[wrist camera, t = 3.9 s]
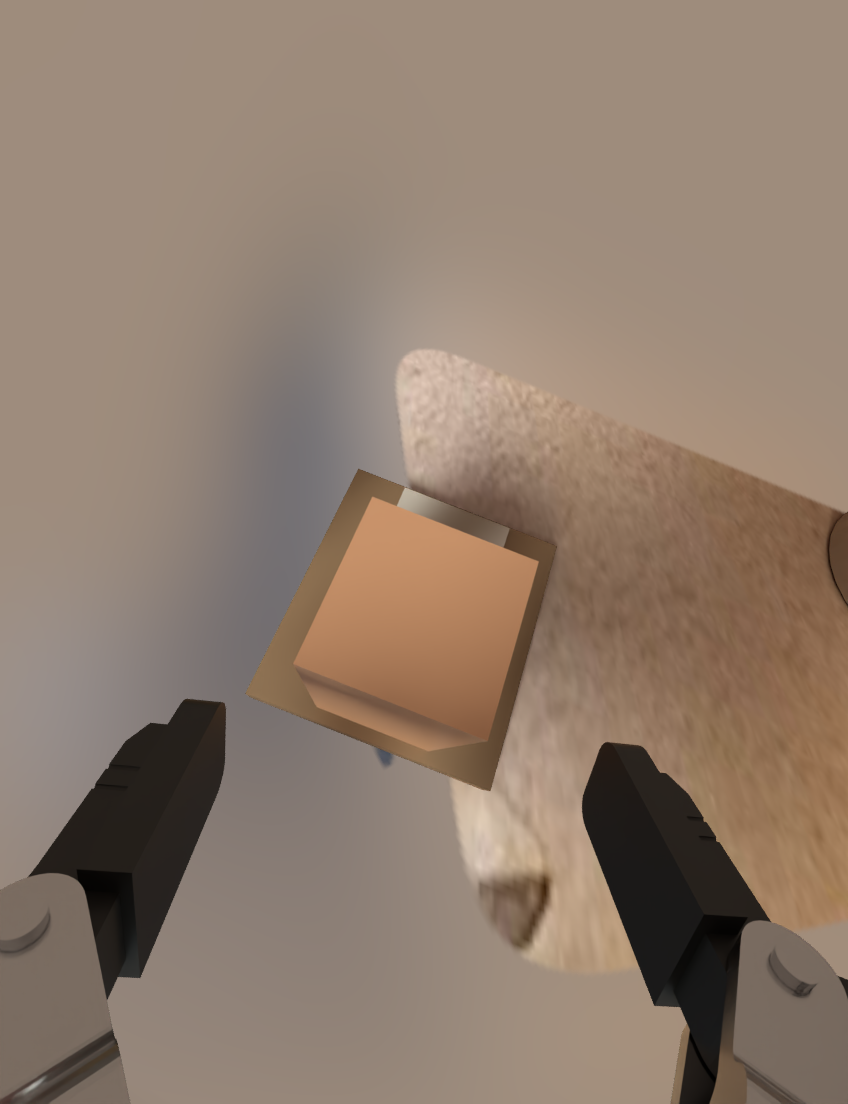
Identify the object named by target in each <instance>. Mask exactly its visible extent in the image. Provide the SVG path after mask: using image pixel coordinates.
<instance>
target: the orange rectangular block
mask: <svg viewBox="0 0 848 1104" xmlns="http://www.w3.org/2000/svg"><path fill="white" fill-rule="evenodd" d="M538 563H539V561H536V560H534V559H531V558H528V557H526V556H523V555H521V554H518V553H516V552H513V551H510V550H508V549H505V548H503V547H500V546H498V545H495V544H493V543H490V542H487V541H485V540H482V539H480V538H477V537H475V536H472V535H469V534H467V533H464V532H462V531H459V530H457V529H454V528H452V527H449V526H446V525H444V524H441V523H439V522H436V521H434V520H431V519H428V518H426V517H423V516H421V515H418V514H416V513H413V512H411V511H408V510H405V509H403V508H400V507H398V506H395V505H393V504H390V503H387V502H385V501H382V500H380V499H377V498H375V497H372V498H371V501H370V503H369V505H368V507H367V509H366V511H365V513H364V515H363V517H362V520H361V522H360V524H359V526H358V528H357V530H356V532H355V534H354V536H353V539H352V541H351V543H350V545H349V547H348V549H347V551H346V553H345V555H344V557H343V560H342V562H341V564H340V566H339V568H338V570H337V572H336V574H335V576H334V579H333V581H332V583H331V585H330V587H329V589H328V591H327V593H326V595H325V598H324V600H323V602H322V604H321V606H320V608H319V610H318V612H317V614H316V616H315V619H314V621H313V623H312V625H311V627H310V629H309V631H308V633H307V635H306V638H305V640H304V642H303V644H302V646H301V648H300V650H299V652H298V654H297V657H296V659H295V661H294V663H293V665H294V667H295V668H296V670H297V672H298V674H299V676H300V677H301V679H302V681H303V683H304V685H305V687H306V688H307V690H308V692H309V694H310V696H311V698H312V699H313V701H314V703H315V705H316V707H318V708H320V709H323V710H325V711H328V712H331V713H333V714H336V715H338V716H341V717H343V718H346V719H348V720H351V721H353V722H356V723H358V724H361V725H363V726H366V727H368V728H371V729H373V730H376V731H378V732H381V733H383V734H386V735H388V736H391V737H393V738H396V739H398V740H401V741H403V742H406V743H408V744H411V745H413V746H416V747H419V748H421V749H424V750H426V751H433V750H439V749H445V748H450V747H456V746H462V745H468V744H474V743H479V742H485V741H488V738H489V735H490V731H491V728H492V724H493V721H494V717H495V714H496V710H497V707H498V703H499V700H500V696H501V693H502V689H503V686H504V682H505V679H506V675H507V672H508V668H509V665H510V661H511V658H512V654H513V651H514V647H515V644H516V640H517V637H518V633H519V630H520V626H521V623H522V619H523V616H524V612H525V609H526V605H527V602H528V598H529V595H530V591H531V588H532V584H533V581H534V577H535V574H536V570H537V567H538Z"/></svg>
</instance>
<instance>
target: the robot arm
mask: <svg viewBox="0 0 848 1104" xmlns="http://www.w3.org/2000/svg"><path fill="white" fill-rule="evenodd" d="M829 553H830V563H831V568H832V571H833V574H834V577H835V581H836V583H837V585H838V587H839V589H840V591H841V593H842V595H843V597H844V599H845V601H846V602H847V604H848V512H847V513H845V514H844V515H843V516H842V517H841V518H840V519H839V520H838V522H837V523H836V525H835V527H834V529H833V531H832V534H831V538H830V546H829ZM225 726H226V708H225V704H224V703H223V702H213V701H203V700H194V699H185V700H184V701H183V702H182V703H181V704H180V706H179V708H178V709H177V710H176V712H175V714H174V715H173V717H172V718H171V720H170V722H169V723H168V725H167V724H156V723H150V724H148V725H147V726H146V727H144V728H143V729H142V730H140V731H139V732H138V733H136V734H135V735H133V736H132V737H131V738H130V739H128V740H127V741H125V743H124V744H123V746H122V747H121V749H120V750H119V751H118V753H117V754H116V755H115V757H114V758H113V760H112V761H111V762H110V764H109V768H108V769H106V770H105V771H104V772H103V774H102V775H101V777H100V778H99V779H98V781H97V782H96V784H95V788H94V789H91V791H90V792H89V793H88V795H87V796H86V798H85V799H84V801H83V802H82V803H81V805H80V806H79V807H78V809H77V810H76V812H75V813H74V815H73V816H72V817H71V819H70V820H69V822H68V823H67V824H66V826H65V827H64V829H63V830H62V831H61V833H60V834H59V836H58V837H57V838H56V840H55V841H54V843H53V844H52V845H51V847H50V848H49V850H48V851H47V853H46V854H45V855H44V857H43V858H42V860H41V861H40V862H39V864H38V865H37V866H36V868H35V869H34V870H33V872H32V873H31V874H30V875H29V876H28V877H27V878H25V879H22V880H19V881H17V882H15V883H13V884H11V885H9V886H7V887H5V888H3V889H2V890H0V1104H130V1099H129V1094H128V1089H127V1085H126V1080H125V1075H124V1070H123V1065H122V1060H121V1056H120V1051H119V1047H118V1043H117V1040H116V1039H115V1037H114V1033H113V1029H112V1024H111V1019H110V1014H109V1009H108V1004H107V999H108V997H109V995H110V993H111V991H112V988H113V986H114V984H115V982H116V980H117V977H132V978H140V977H141V975H142V972H143V970H144V967H145V965H146V963H147V960H148V958H149V956H150V953H151V951H152V948H153V946H154V944H155V941H156V939H157V936H158V934H159V932H160V929H161V927H162V924H163V922H164V920H165V917H166V915H167V913H168V910H169V908H170V906H171V903H172V901H173V898H174V896H175V893H176V891H177V889H178V886H179V884H180V881H181V879H182V877H183V874H184V872H185V870H186V867H187V865H188V863H189V860H190V858H191V855H192V853H193V851H194V848H195V846H196V844H197V841H198V839H199V836H200V834H201V831H202V829H203V827H204V824H205V822H206V820H207V817H208V815H209V813H210V810H211V808H212V805H213V803H214V801H215V798H216V796H217V793H218V791H219V787H220V784H221V780H222V776H223V771H224V765H225V729H226V727H225ZM582 813H583V820H584V824H585V827H586V830H587V832H588V835H589V838H590V840H591V843H592V845H593V848H594V851H595V853H596V856H597V858H598V861H599V864H600V866H601V869H602V871H603V874H604V877H605V879H606V882H607V884H608V887H609V889H610V892H611V895H612V897H613V900H614V902H615V905H616V908H617V910H618V913H619V915H620V918H621V921H622V923H623V926H624V928H625V931H626V934H627V936H628V939H629V941H630V944H631V947H632V949H633V952H634V954H635V957H636V960H637V962H638V965H639V967H640V970H641V973H642V975H643V978H644V980H645V983H646V986H647V988H648V991H649V993H650V996H651V999H652V1001H653V1004H654V1006H669V1007H680V1008H681V1010H682V1012H683V1015H684V1017H685V1020H686V1022H687V1025H686V1026H685V1028H684V1030H683V1032H682V1035H681V1040H680V1047H679V1053H678V1059H677V1065H676V1072H675V1078H674V1084H673V1091H672V1097H671V1104H848V980H847V979H844V978H842V977H839V976H837V975H836V973H835V972H834V970H833V969H832V967H831V966H830V965H829V964H828V962H827V961H826V960H825V959H824V958H823V957H822V956H821V955H820V954H819V953H818V951H816V950H815V949H814V948H813V947H812V946H811V945H810V944H809V943H807V942H806V941H805V940H804V939H802V938H801V937H800V936H798V935H797V934H795V933H794V932H792V931H790V930H788V929H787V928H785V927H783V926H780V925H778V924H775V923H772V922H771V921H770V919H769V918H768V917H767V915H766V913H765V912H764V910H763V909H762V907H761V906H760V904H759V903H758V901H757V900H756V898H755V896H754V895H753V893H752V892H751V890H750V889H749V887H748V886H747V884H746V883H745V881H744V879H743V878H742V876H741V875H740V873H739V872H738V870H737V869H736V867H735V866H734V864H733V862H732V861H731V859H730V858H729V856H728V855H727V853H726V852H725V850H724V848H723V847H722V845H721V844H720V842H717V841H716V836H715V835H714V833H713V831H712V830H711V828H710V827H709V825H708V824H707V822H704V821H703V816H702V814H701V813H700V811H699V810H698V808H697V807H696V805H695V804H694V802H693V801H692V799H691V797H690V796H689V794H688V793H687V792H686V791H684V790H683V789H682V788H681V787H680V786H679V785H678V784H677V783H676V782H675V781H674V780H673V779H672V778H671V777H670V776H669V775H667V774H666V773H660V772H659V771H658V769H657V767H656V766H655V764H654V763H653V761H652V759H651V758H650V756H649V754H648V753H647V751H646V750H645V749H644V748H643V747H642V746H639V745H630V744H620V743H610V742H606V743H604V744H603V745H602V746H601V748H600V750H599V753H598V756H597V758H596V761H595V764H594V767H593V769H592V772H591V775H590V778H589V780H588V783H587V786H586V789H585V791H584V795H583V800H582Z"/></svg>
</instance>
